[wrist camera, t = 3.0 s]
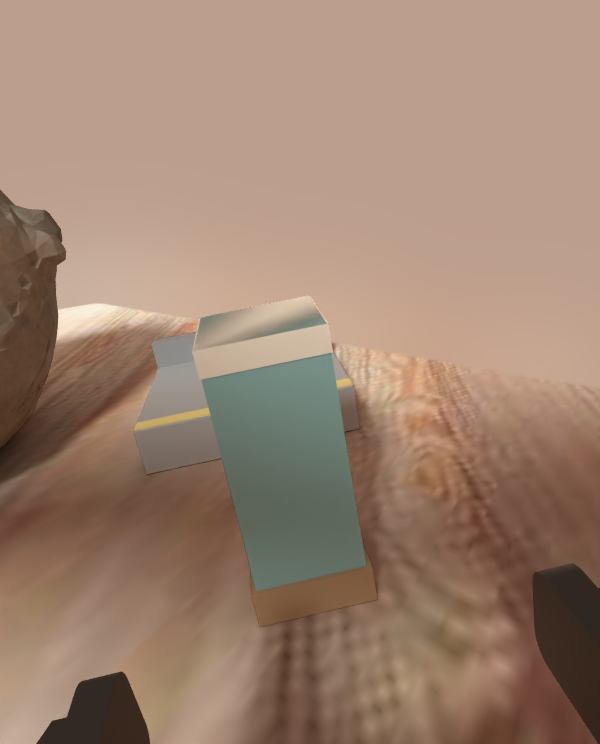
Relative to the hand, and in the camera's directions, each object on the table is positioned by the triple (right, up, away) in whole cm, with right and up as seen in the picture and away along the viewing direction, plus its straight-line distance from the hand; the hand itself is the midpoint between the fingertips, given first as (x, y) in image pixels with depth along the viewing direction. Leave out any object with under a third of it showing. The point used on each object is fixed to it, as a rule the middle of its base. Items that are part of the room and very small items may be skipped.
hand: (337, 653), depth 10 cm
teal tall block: (0, -3, +13) cm, 14 cm away
